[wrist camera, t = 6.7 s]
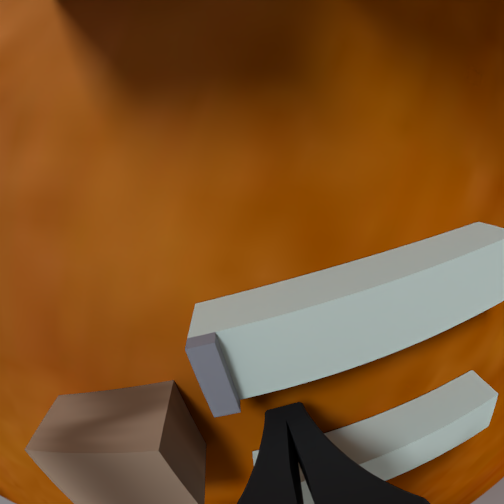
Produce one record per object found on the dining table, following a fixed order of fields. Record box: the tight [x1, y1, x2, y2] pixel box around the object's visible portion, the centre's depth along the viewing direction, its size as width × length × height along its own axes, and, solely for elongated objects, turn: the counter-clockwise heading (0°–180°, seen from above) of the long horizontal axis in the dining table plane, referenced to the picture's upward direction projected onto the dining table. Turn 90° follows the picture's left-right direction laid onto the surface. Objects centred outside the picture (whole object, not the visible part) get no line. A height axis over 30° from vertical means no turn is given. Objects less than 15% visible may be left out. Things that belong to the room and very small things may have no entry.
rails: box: [185, 222, 504, 504], centre depth 11 cm, size 12×10×3 cm
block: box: [25, 380, 206, 504], centre depth 10 cm, size 6×4×4 cm, turn 104°
